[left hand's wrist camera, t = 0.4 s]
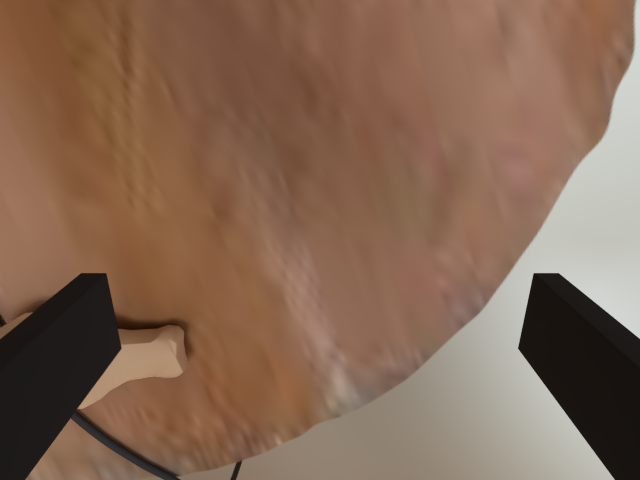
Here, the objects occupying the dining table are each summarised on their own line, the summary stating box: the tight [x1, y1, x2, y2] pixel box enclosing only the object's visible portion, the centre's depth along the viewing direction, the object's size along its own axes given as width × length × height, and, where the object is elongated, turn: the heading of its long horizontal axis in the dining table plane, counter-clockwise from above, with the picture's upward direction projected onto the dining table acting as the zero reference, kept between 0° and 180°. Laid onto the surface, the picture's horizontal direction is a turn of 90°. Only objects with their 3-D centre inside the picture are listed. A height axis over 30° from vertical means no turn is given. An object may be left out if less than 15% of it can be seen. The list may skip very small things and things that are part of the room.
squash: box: [0, 312, 188, 409], centre depth 42 cm, size 11×20×9 cm, turn 93°
